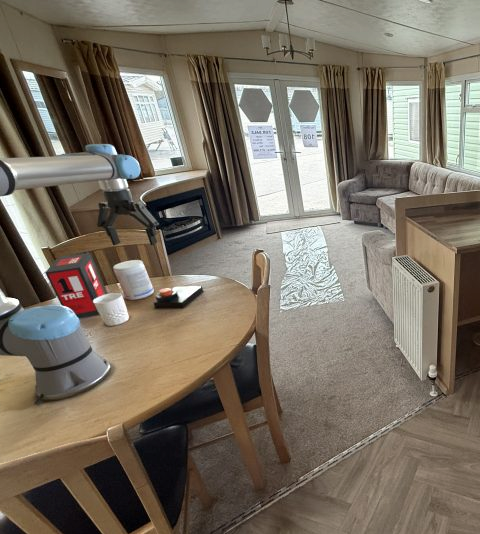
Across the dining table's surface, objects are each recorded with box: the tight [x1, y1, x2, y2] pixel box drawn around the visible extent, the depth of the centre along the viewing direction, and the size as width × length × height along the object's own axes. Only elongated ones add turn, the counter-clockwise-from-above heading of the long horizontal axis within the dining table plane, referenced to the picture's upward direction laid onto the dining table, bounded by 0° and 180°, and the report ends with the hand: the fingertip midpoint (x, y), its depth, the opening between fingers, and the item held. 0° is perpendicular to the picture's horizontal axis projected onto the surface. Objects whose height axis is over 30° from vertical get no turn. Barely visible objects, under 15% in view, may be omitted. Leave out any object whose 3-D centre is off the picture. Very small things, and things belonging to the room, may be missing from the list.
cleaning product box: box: [44, 252, 109, 319], centre depth 131 cm, size 16×9×20 cm, turn 33°
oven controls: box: [152, 285, 204, 309], centre depth 142 cm, size 14×11×4 cm
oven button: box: [158, 287, 173, 297], centre depth 138 cm, size 4×4×2 cm
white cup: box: [93, 292, 130, 327], centre depth 125 cm, size 8×8×10 cm
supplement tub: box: [112, 259, 155, 301], centre depth 142 cm, size 10×10×15 cm
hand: (135, 244), depth 131 cm, fingers open, 13 cm apart
